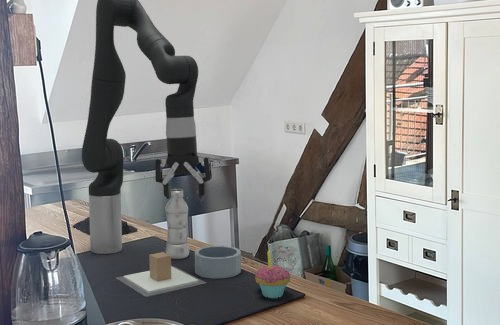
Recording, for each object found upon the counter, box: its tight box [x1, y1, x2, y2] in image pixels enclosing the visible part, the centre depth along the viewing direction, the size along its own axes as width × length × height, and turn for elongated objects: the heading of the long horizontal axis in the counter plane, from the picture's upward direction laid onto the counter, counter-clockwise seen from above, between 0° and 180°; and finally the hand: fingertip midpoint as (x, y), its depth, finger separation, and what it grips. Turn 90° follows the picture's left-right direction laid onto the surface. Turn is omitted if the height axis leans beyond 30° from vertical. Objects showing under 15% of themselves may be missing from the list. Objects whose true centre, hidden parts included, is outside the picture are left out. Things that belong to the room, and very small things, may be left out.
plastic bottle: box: [164, 188, 190, 260], centre depth 185 cm, size 6×7×20 cm
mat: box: [115, 265, 207, 298], centre depth 165 cm, size 17×17×1 cm
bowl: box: [194, 245, 242, 280], centre depth 173 cm, size 12×12×6 cm
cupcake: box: [254, 248, 291, 299], centre depth 157 cm, size 9×8×12 cm
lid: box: [123, 251, 199, 294], centre depth 165 cm, size 14×14×7 cm
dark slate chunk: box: [72, 216, 138, 236], centre depth 220 cm, size 15×22×5 cm
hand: (184, 198), depth 167 cm, fingers open, 8 cm apart
